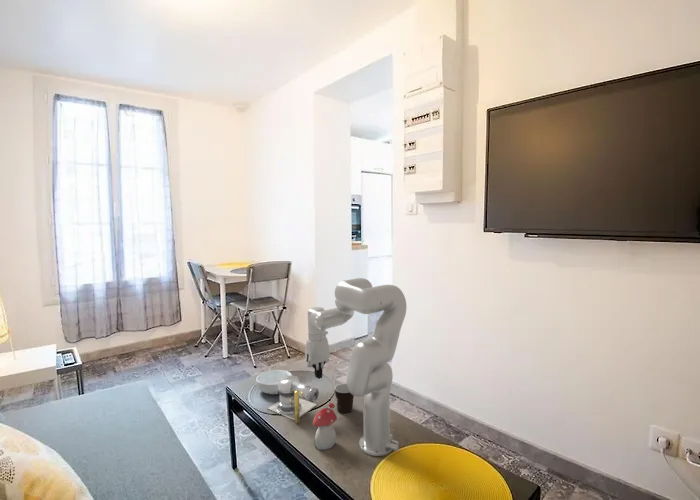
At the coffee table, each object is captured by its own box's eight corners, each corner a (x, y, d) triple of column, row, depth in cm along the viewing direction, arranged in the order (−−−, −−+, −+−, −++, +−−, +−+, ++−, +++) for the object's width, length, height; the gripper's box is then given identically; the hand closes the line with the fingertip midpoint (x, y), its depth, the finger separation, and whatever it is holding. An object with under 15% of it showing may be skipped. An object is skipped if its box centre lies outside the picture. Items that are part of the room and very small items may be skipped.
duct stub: (297, 425, 147) (296, 392, 145) (264, 411, 157) (263, 381, 156) (321, 407, 160) (321, 377, 159) (289, 395, 170) (289, 368, 169)
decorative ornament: (334, 437, 139) (333, 399, 137) (340, 447, 133) (340, 408, 131) (310, 443, 135) (310, 404, 134) (315, 453, 129) (315, 413, 128)
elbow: (273, 392, 157) (272, 379, 156) (289, 384, 164) (289, 372, 164) (305, 406, 145) (305, 393, 144) (321, 397, 152) (321, 384, 152)
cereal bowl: (298, 385, 181) (297, 371, 180) (282, 401, 165) (281, 386, 165) (267, 380, 186) (267, 367, 186) (249, 396, 171) (249, 381, 170)
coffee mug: (353, 416, 153) (352, 393, 152) (333, 414, 154) (332, 392, 153) (356, 402, 164) (356, 381, 163) (338, 400, 165) (337, 379, 164)
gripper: (326, 330, 165) (328, 370, 166) (297, 337, 156) (299, 379, 157) (336, 334, 159) (337, 375, 160) (306, 342, 150) (308, 385, 151)
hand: (318, 377), depth 159 cm, fingers closed
